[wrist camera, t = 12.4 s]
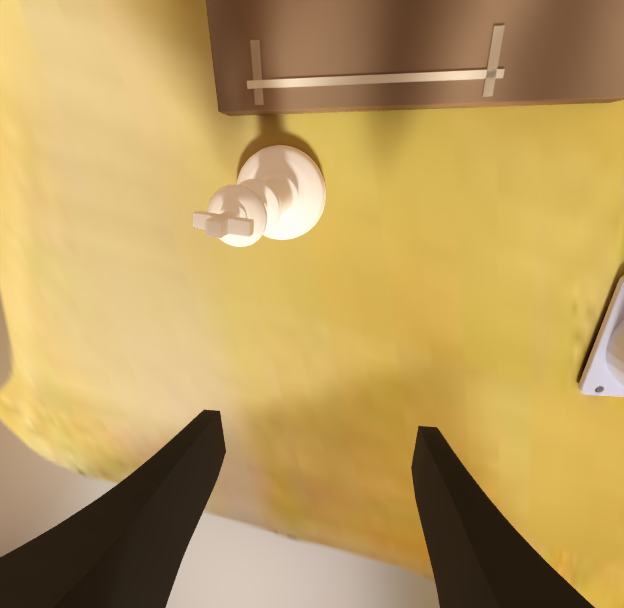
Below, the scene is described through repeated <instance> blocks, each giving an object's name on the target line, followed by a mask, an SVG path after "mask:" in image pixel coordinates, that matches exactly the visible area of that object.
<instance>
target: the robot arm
mask: <svg viewBox="0 0 624 608" xmlns="http://www.w3.org/2000/svg"><path fill="white" fill-rule="evenodd" d="M598 386H599V387H598ZM596 387H598V388H596ZM578 388H579V390H580V391H581V392H582V393H583V394H586V395H599V396H619V397H624V275H623V276H622V277H621V278H620V279H619V281H618V284H617V286H616V289H615V291H614V294H613V297H612V299H611V302H610V304H609V307H608V310H607V312H606V315H605V317H604V320H603V323H602V325H601V328H600V330H599V333H598V336H597V338H596V341H595V343H594V346H593V349H592V351H591V354H590V356H589V359H588V362H587V364H586V367H585V369H584V372H583V374H582V377H581V380H580V382H579V385H578ZM595 388H596V389H595ZM225 453H226V448H225V442H224V435H223V429H222V422H221V415H220V411H214V410H203V411H202V412H201V413H200V414H199V415H198V416H197V417H196V418H194V419H193V420H192V421H191V422H190V423H189V424H188V425H187V426H186V427H185V428H184V429H183V430H181V431H180V432H179V433H178V434H177V435H176V436H175V437H174V438H173V439H172V440H171V441H169V442H168V443H167V444H166V445H165V446H164V447H163V448H162V449H160V450H159V451H158V452H157V453H156V454H155V455H154V456H152V457H151V458H150V459H149V460H148V461H146V462H145V463H144V464H143V465H142V466H140V467H139V468H138V469H137V470H136V471H134V472H133V473H132V474H131V475H129V476H128V477H127V478H126V479H124V480H123V481H122V482H120V483H119V484H118V485H116V486H115V487H114V488H112V489H111V490H109V491H108V492H107V493H105V494H104V495H102V496H101V497H100V498H98V499H97V500H95V501H94V502H92V503H91V504H89V505H88V506H86V507H85V508H83V509H82V510H80V511H78V512H77V513H76V514H74V515H72V516H71V517H69V518H68V519H66V520H65V521H63V522H61V523H60V524H58V525H57V526H55V527H53V528H52V529H50V530H49V531H47V532H45V533H43V534H41V535H40V536H38V537H36V538H35V539H33V540H31V541H29V542H28V543H26V544H24V545H22V546H20V547H19V548H17V549H15V550H13V551H11V552H10V553H8V554H6V555H4V556H3V557H0V608H165V607H166V604H167V601H168V598H169V595H170V592H171V590H172V586H173V584H174V581H175V578H176V575H177V572H178V569H179V567H180V564H181V561H182V558H183V556H184V554H185V551H186V548H187V546H188V544H189V541H190V539H191V537H192V535H193V533H194V530H195V528H196V526H197V524H198V522H199V519H200V517H201V515H202V513H203V510H204V508H205V506H206V504H207V501H208V499H209V497H210V495H211V492H212V490H213V488H214V486H215V483H216V481H217V478H218V475H219V472H220V469H221V466H222V463H223V459H224V456H225ZM411 468H412V476H413V484H414V491H415V498H416V503H417V507H418V511H419V516H420V520H421V524H422V528H423V532H424V536H425V540H426V544H427V549H428V553H429V557H430V561H431V565H432V569H433V573H434V578H435V583H436V587H437V592H438V599H439V604H440V608H595V607H594V606H592V605H591V604H590V603H589V602H588V601H587V600H586V599H585V598H584V597H583V596H582V595H581V594H580V593H578V592H577V591H576V590H575V589H574V588H573V587H572V586H571V585H570V584H569V583H568V582H567V581H566V580H565V579H564V578H563V577H562V576H560V575H559V574H558V573H557V572H556V571H555V570H554V569H553V568H552V567H551V566H550V565H549V564H548V563H547V562H546V561H545V560H544V559H543V558H542V557H541V556H540V555H539V554H538V553H537V552H536V551H535V550H534V549H533V548H532V547H531V546H530V545H529V543H528V542H527V541H526V540H525V539H524V538H523V537H522V536H521V535H520V534H519V533H518V532H517V531H516V529H515V528H514V527H513V526H512V525H511V524H510V523H509V522H508V520H507V519H506V518H505V517H504V516H503V515H502V514H501V512H500V511H499V510H498V509H497V508H496V506H495V505H494V504H493V503H492V502H491V500H490V499H489V498H488V497H487V495H486V494H485V493H484V492H483V490H482V489H481V488H480V487H479V485H478V484H477V483H476V481H475V480H474V479H473V477H472V476H471V475H470V473H469V472H468V471H467V470H466V468H465V467H464V465H463V464H462V463H461V461H460V460H459V458H458V457H457V456H456V454H455V453H454V451H453V450H452V448H451V447H450V446H449V444H448V443H447V441H446V440H445V438H444V437H443V435H442V434H441V432H440V431H439V429H438V428H437V427H424V426H419V427H418V432H417V438H416V444H415V450H414V456H413V462H412V467H411Z"/></svg>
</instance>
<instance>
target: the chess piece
mask: <svg viewBox="0 0 624 608" xmlns="http://www.w3.org/2000/svg"><path fill="white" fill-rule="evenodd" d="M325 202H326V187H325V182H324V178H323V176H322V173H321V171H320V169H319V167H318V166H317V165H316V163H315V162H314V161H313V160H312V159H311V158H310V157H309V156H308V155H307V154H306V153H304V152H303V151H301V150H299V149H297V148H294V147H291V146H286V145H273V146H269V147H266V148H263V149H261V150H259V151H258V152H256V153H255V154H253V155H252V156H251V157H250V158H249V159H248V160H247V161H246V162H245V164H244V165H243V167H242V169H241V171H240V173H239V176H238V179H237V185H227V186H224V187H222V188H220V189H219V190H217V191H216V192H215V193H214V194H213V196H212V197H211V199H210V201H209V204H208V209H207V212H204V211H197V212H194V213H193V228H197V229H204V230H205V236H211V237H217V238H219V239H220V240H222V241H223V242H225V243H227V244H229V245H232V246H236V247H244V246H249V245H251V244H253V243H255V242H256V241H258V240H259V239H260V237H261V236H262V235H264V236H266V237H269V238H272V239H278V240H286V239H292V238H295V237H298V236H301V235H303V234H304V233H306V232H308V231H309V230H310V229H311V228H312V227H313V226H314V225H315V224H316V223H317V222H318V220H319V219H320V217H321V215H322V213H323V210H324V206H325Z"/></svg>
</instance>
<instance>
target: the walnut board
mask: <svg viewBox="0 0 624 608" xmlns="http://www.w3.org/2000/svg"><path fill="white" fill-rule="evenodd" d="M206 6H207V14H208V23H209V32H210V40H211V49H212V58H213V66H214V75H215V83H216V92H217V101H218V109H219V112H221V113H223V114H226V115H229V116H238V115H267V114H295V113H324V112H353V111H381V110H410V109H439V108H467V107H496V106H525V105H553V104H582V103H611V102H615V101H620V100H624V0H206Z"/></svg>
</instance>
